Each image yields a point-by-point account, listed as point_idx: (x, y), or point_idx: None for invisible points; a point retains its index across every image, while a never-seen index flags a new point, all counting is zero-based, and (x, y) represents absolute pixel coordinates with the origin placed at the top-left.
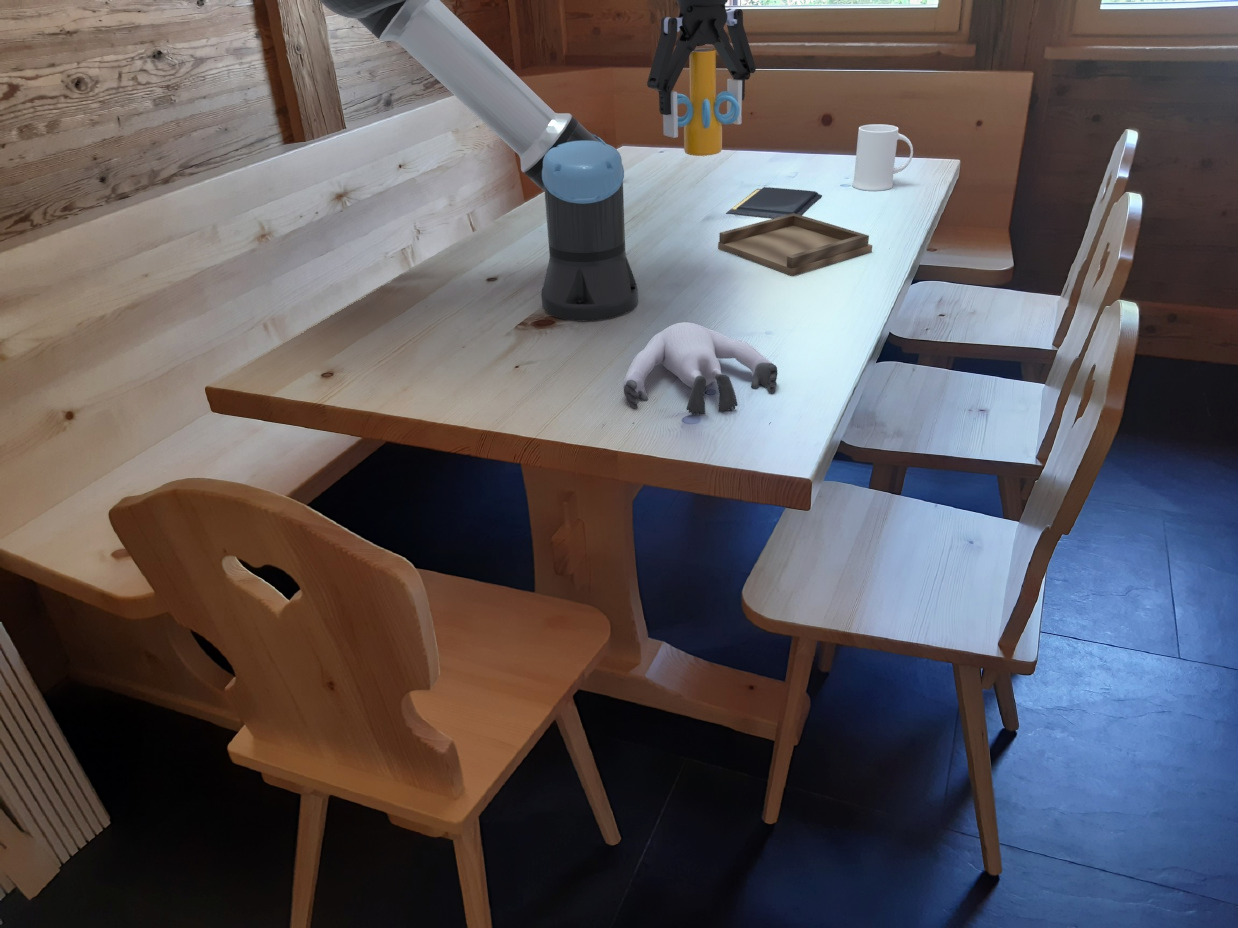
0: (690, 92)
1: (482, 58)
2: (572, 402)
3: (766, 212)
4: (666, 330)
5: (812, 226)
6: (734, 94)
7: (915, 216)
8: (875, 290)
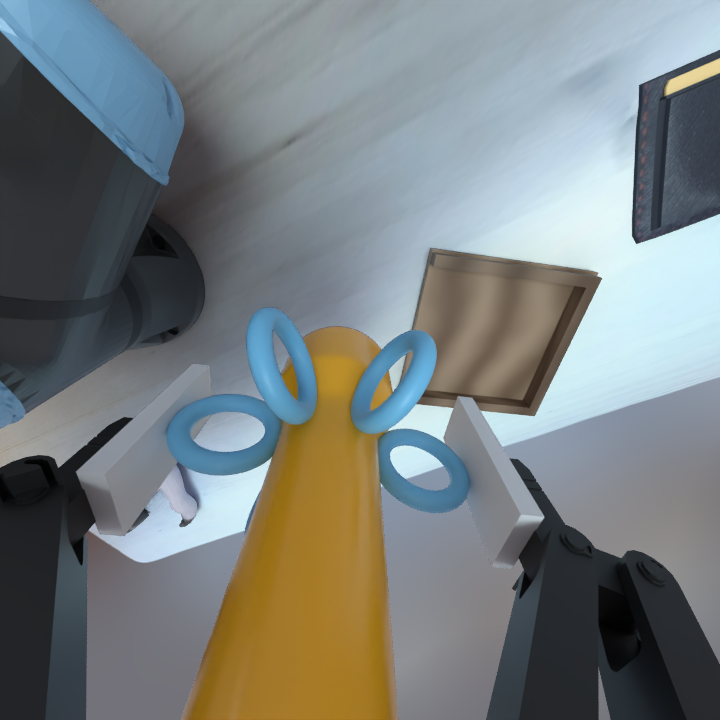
0: (264, 482)
1: None
2: (30, 441)
3: (653, 178)
4: None
5: (562, 326)
6: (479, 496)
7: (710, 367)
8: (415, 463)
